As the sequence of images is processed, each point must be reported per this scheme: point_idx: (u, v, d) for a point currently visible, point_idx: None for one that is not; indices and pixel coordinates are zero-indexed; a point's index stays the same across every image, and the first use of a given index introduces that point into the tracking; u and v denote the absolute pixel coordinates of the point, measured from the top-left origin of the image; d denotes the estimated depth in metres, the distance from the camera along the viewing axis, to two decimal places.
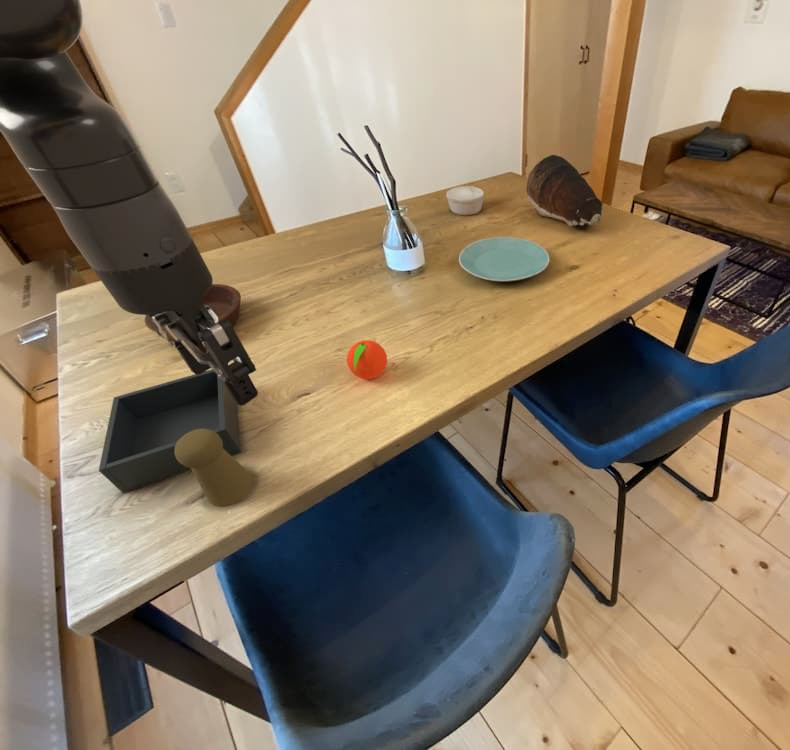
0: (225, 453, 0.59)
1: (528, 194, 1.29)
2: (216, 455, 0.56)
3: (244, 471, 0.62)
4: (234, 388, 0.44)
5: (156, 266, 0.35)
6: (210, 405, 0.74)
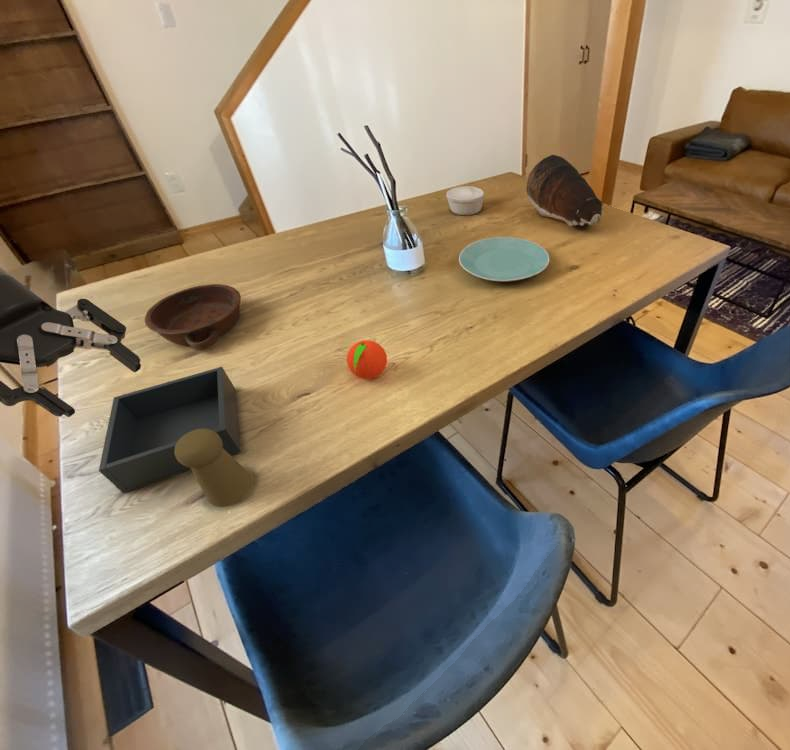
0: (225, 453, 0.59)
1: (528, 194, 1.29)
2: (216, 455, 0.56)
3: (244, 471, 0.62)
4: (125, 351, 0.57)
5: None
6: (210, 405, 0.74)
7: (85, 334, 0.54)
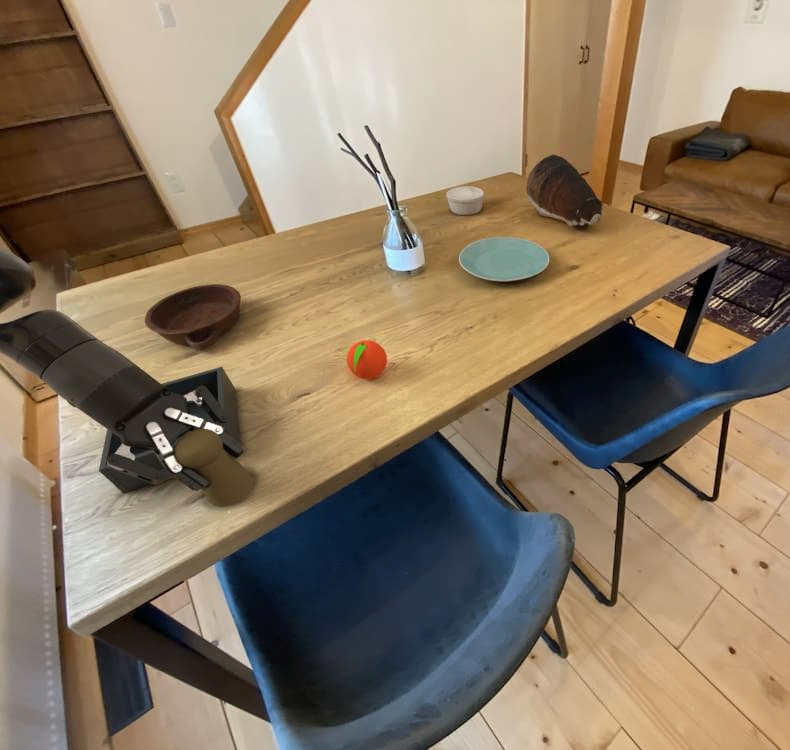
0: (225, 453, 0.59)
1: (528, 194, 1.29)
2: (216, 455, 0.56)
3: (244, 471, 0.62)
4: (229, 440, 0.60)
5: None
6: None
7: (198, 423, 0.57)
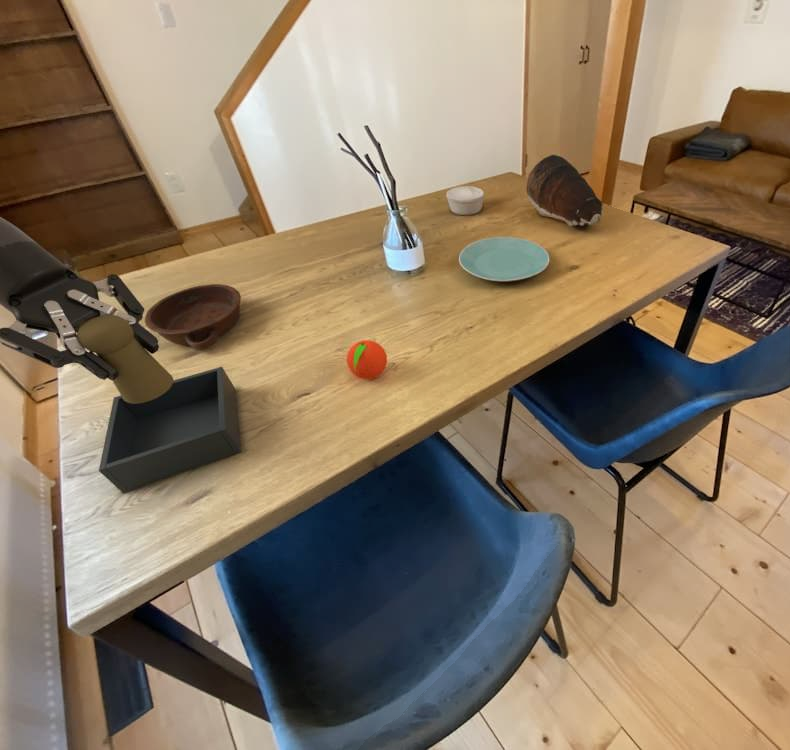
0: (137, 344, 0.56)
1: (528, 194, 1.29)
2: (123, 341, 0.53)
3: (162, 369, 0.59)
4: (143, 332, 0.57)
5: None
6: (210, 405, 0.74)
7: (106, 309, 0.54)
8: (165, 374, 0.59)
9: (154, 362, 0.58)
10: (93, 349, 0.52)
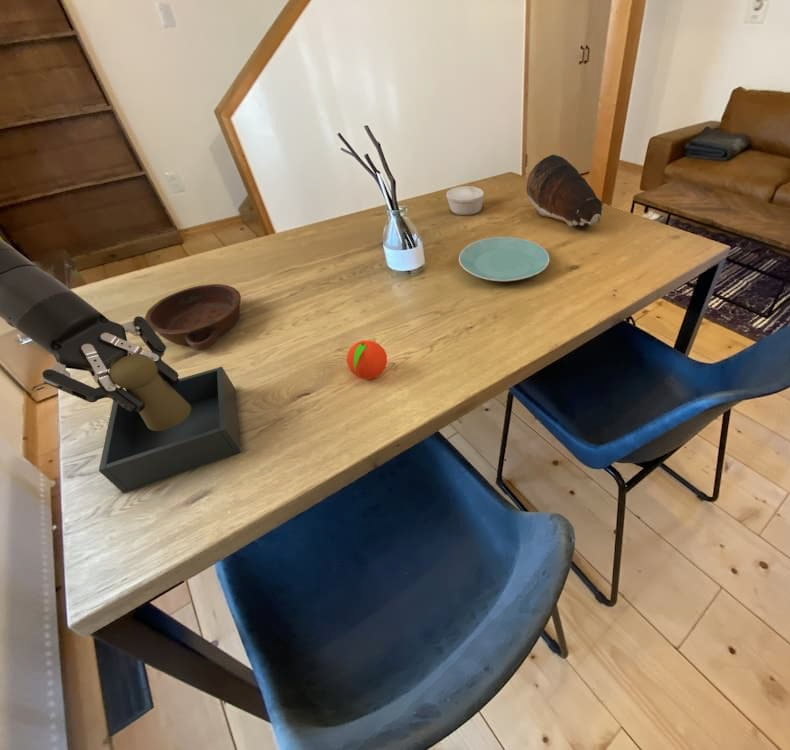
0: (160, 379, 0.63)
1: (528, 194, 1.29)
2: (149, 377, 0.60)
3: (181, 399, 0.66)
4: (165, 368, 0.64)
5: None
6: (210, 405, 0.74)
7: (133, 349, 0.61)
8: (184, 404, 0.66)
9: (175, 394, 0.65)
10: (123, 385, 0.59)
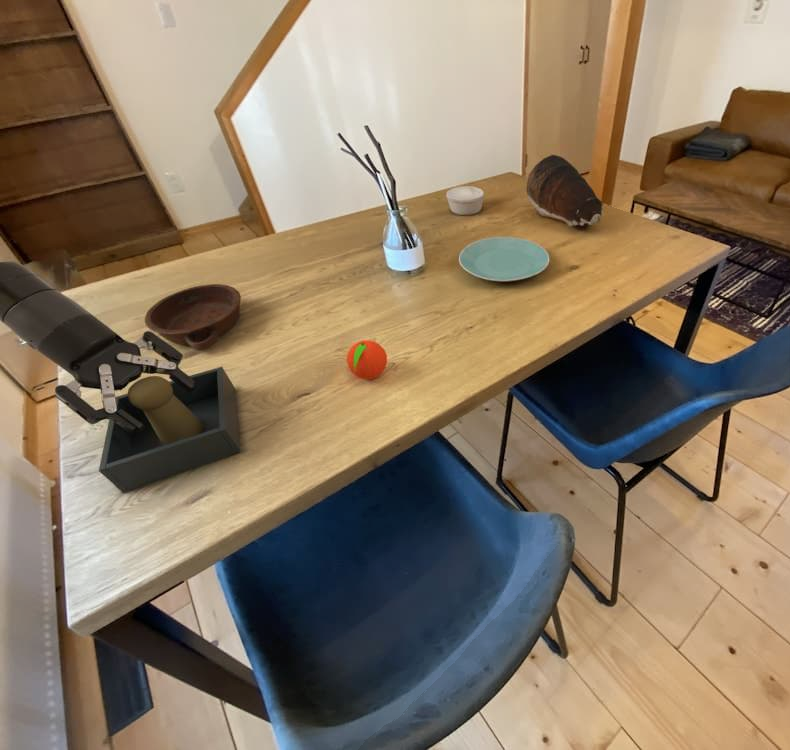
0: (175, 399, 0.66)
1: (528, 194, 1.29)
2: (165, 399, 0.63)
3: (195, 418, 0.69)
4: (182, 375, 0.67)
5: (94, 317, 0.62)
6: (210, 405, 0.74)
7: (151, 362, 0.64)
8: (197, 422, 0.69)
9: (189, 413, 0.68)
10: (141, 407, 0.62)
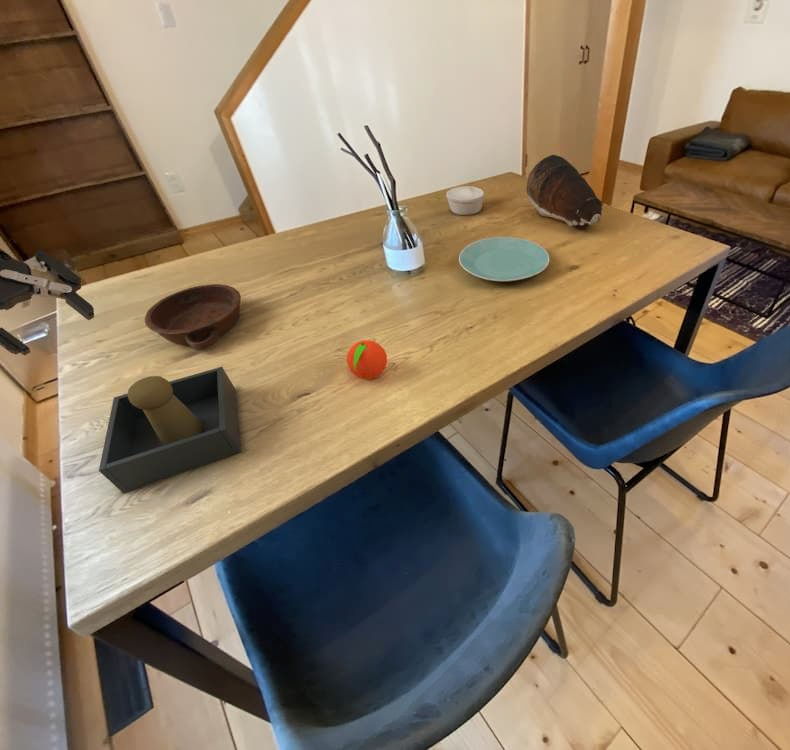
0: (175, 399, 0.66)
1: (528, 194, 1.29)
2: (165, 399, 0.63)
3: (195, 418, 0.69)
4: (79, 300, 0.63)
5: None
6: (210, 405, 0.74)
7: (41, 282, 0.60)
8: (197, 422, 0.69)
9: (189, 413, 0.68)
10: (141, 407, 0.62)
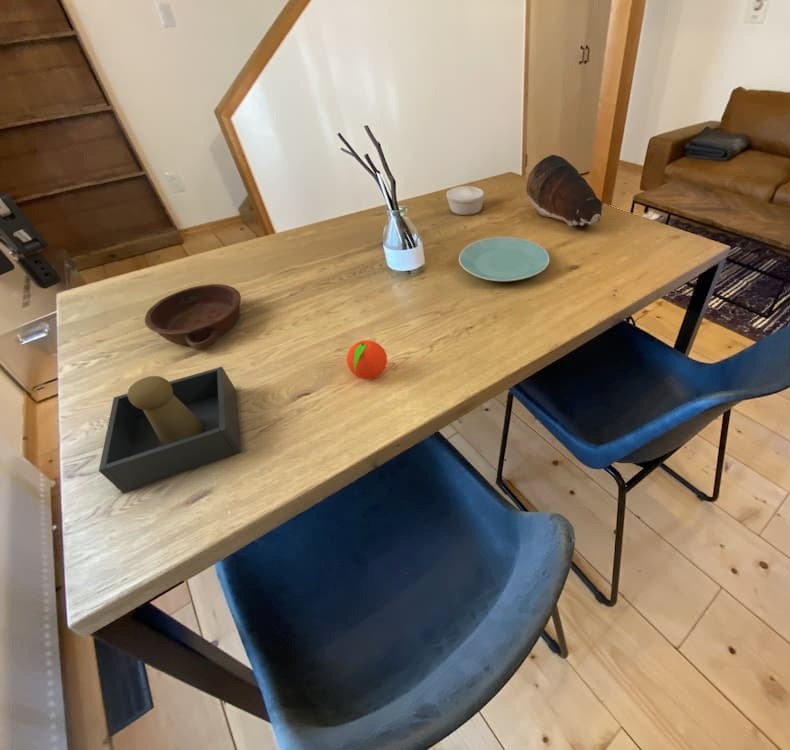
0: (175, 399, 0.66)
1: (528, 194, 1.29)
2: (165, 399, 0.63)
3: (195, 418, 0.69)
4: (31, 269, 0.48)
5: None
6: (210, 405, 0.74)
7: None
8: (197, 422, 0.69)
9: (189, 413, 0.68)
10: (141, 407, 0.62)
